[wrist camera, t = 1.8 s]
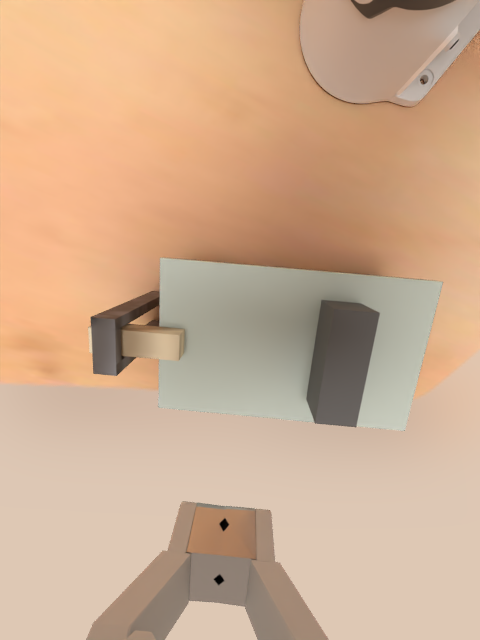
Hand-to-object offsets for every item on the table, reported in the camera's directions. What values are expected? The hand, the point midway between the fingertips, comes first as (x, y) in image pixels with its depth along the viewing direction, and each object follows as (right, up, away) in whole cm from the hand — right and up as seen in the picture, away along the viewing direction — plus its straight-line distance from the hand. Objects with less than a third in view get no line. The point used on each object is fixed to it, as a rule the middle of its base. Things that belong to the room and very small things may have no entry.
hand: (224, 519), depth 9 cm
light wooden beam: (-9, +5, +17) cm, 20 cm away
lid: (+5, +4, +18) cm, 20 cm away
